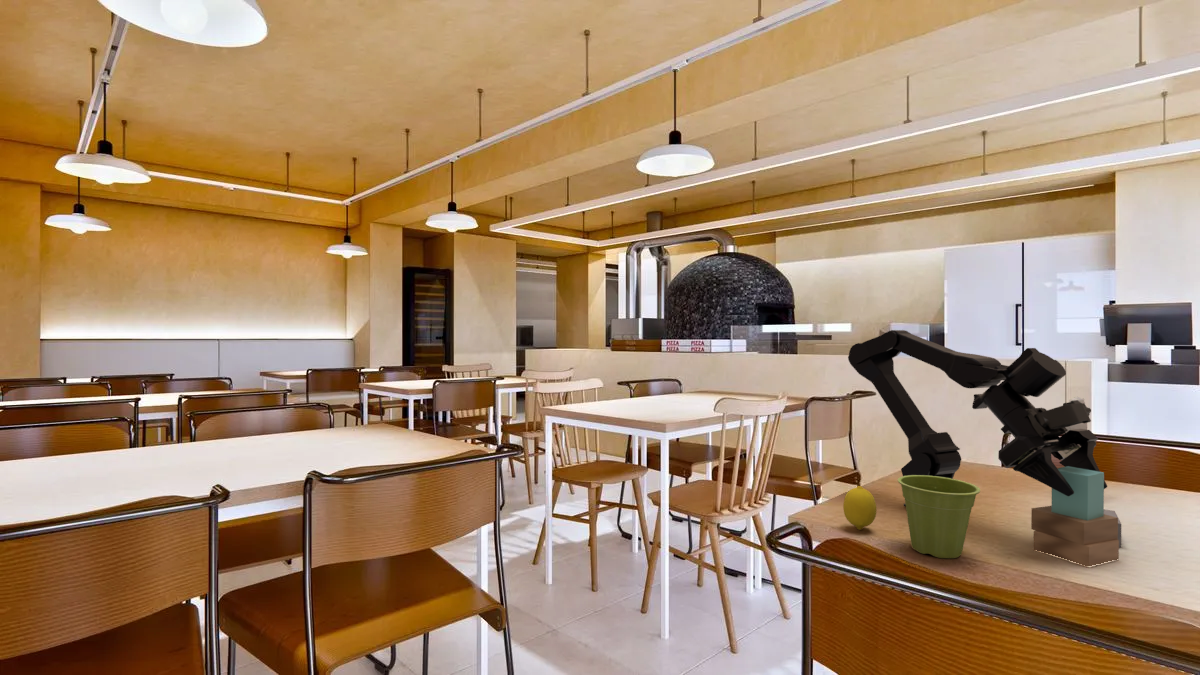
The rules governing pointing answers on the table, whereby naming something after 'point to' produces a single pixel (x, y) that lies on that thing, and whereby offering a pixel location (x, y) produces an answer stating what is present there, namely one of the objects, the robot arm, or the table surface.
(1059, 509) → the teal block
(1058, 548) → the tower lower
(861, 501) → the lemon
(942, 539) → the plant pot
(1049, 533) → the tower upper
